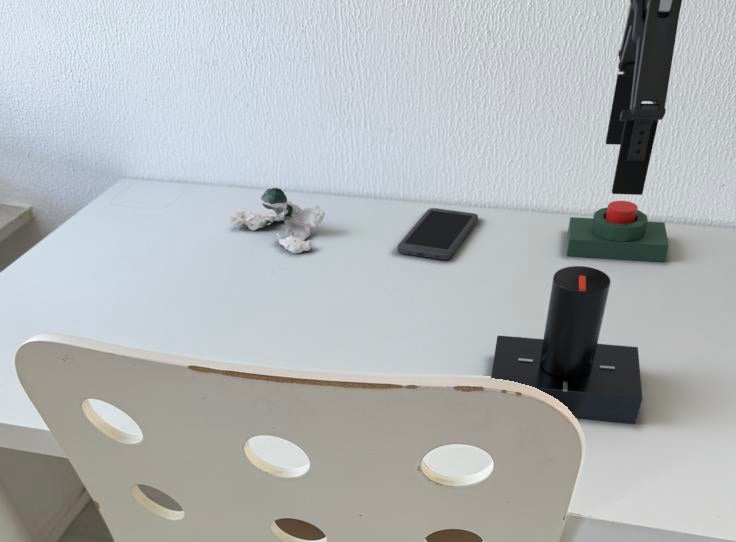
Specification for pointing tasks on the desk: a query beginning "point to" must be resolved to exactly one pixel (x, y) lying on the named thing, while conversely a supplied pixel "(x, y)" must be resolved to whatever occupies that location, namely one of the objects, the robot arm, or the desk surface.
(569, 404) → the black base block
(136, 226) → the desk surface
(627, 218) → the button
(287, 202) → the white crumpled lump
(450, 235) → the cell phone
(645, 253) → the button block
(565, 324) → the knob
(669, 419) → the desk surface
